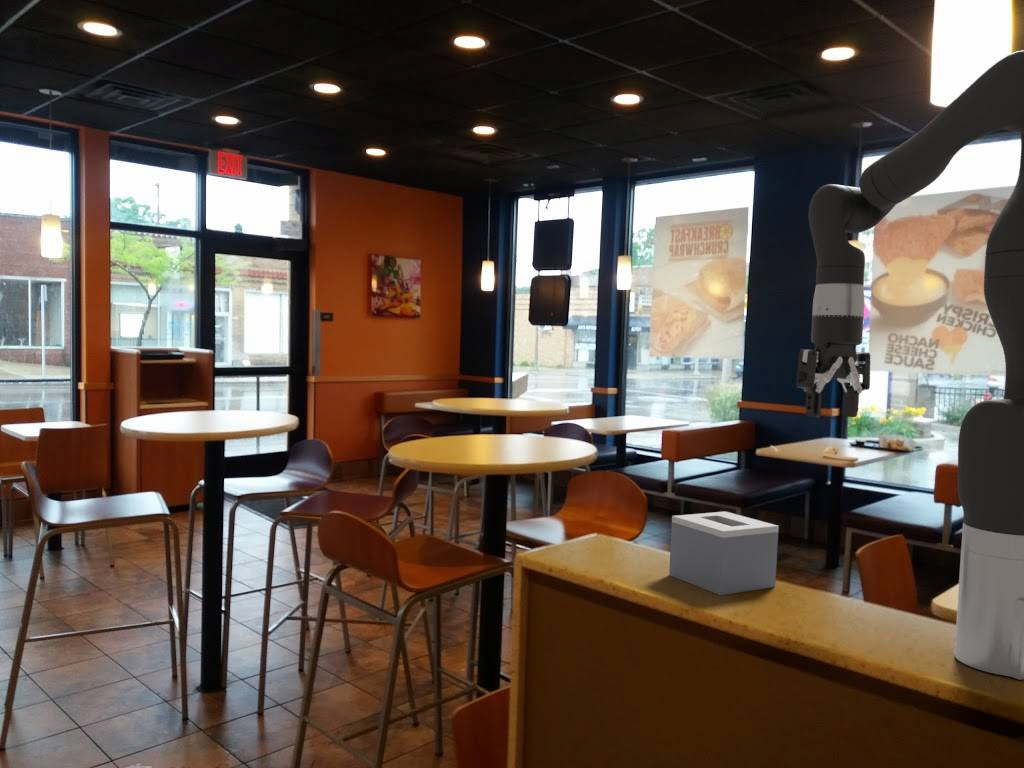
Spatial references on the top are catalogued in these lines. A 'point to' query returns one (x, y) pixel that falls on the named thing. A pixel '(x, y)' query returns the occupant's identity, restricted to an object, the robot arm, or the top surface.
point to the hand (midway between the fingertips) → (831, 416)
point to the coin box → (723, 552)
